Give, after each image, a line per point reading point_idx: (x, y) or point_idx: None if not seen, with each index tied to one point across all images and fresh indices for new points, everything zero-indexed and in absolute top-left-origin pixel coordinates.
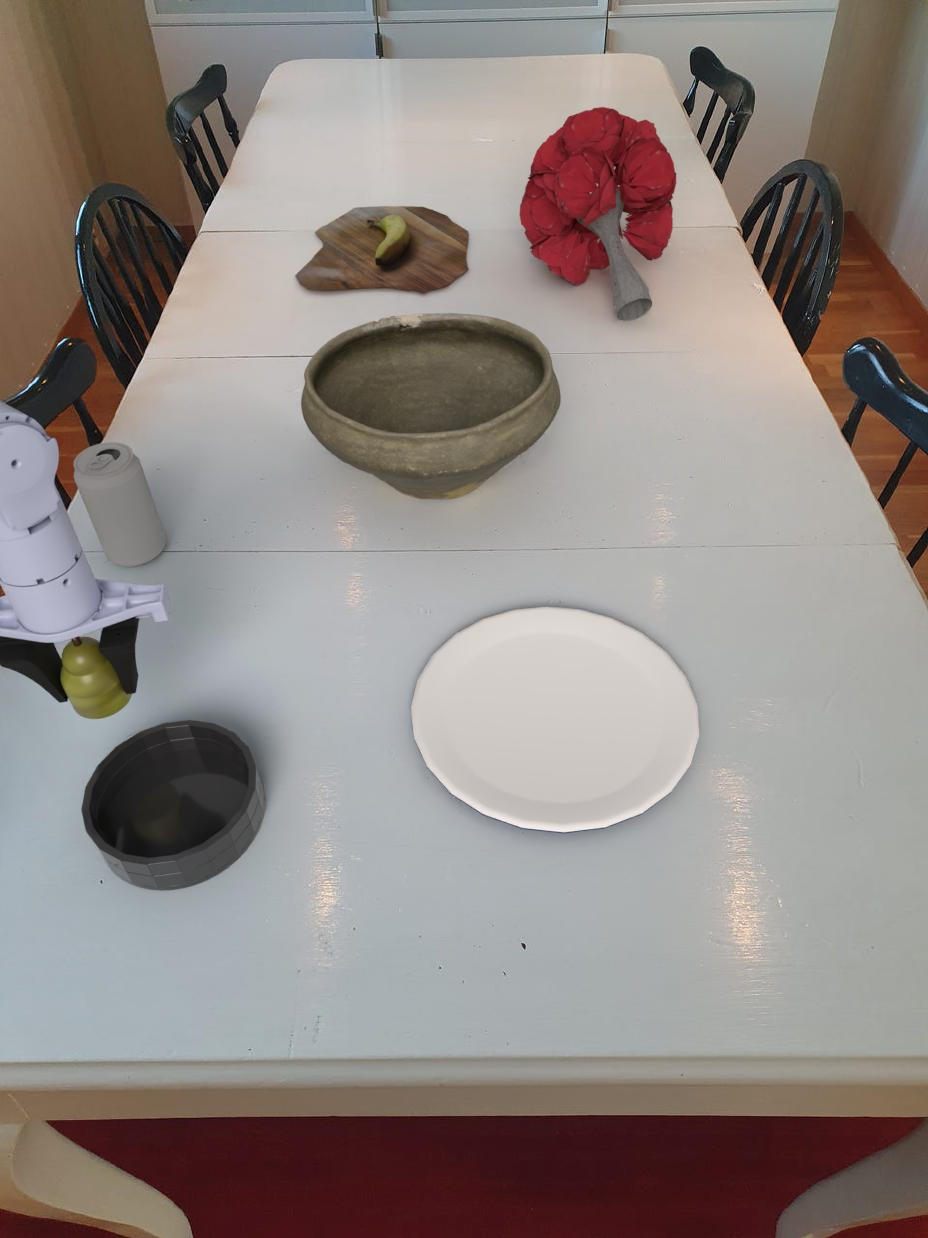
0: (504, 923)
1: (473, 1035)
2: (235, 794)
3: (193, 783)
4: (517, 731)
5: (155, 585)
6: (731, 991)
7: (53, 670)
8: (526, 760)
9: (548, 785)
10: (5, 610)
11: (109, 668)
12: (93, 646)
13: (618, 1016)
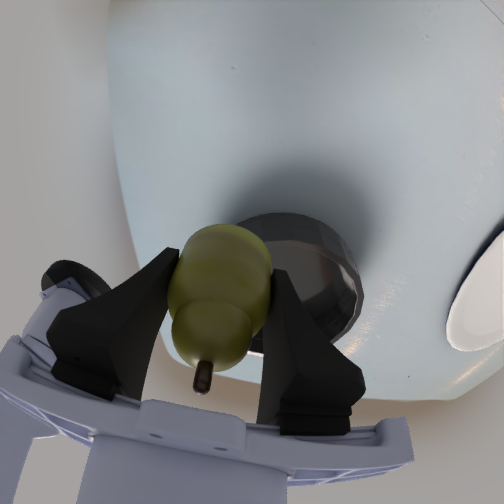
0: (410, 370)
1: (368, 394)
2: (329, 283)
3: (298, 262)
4: (497, 292)
5: (400, 464)
6: (442, 389)
7: (157, 312)
8: (484, 310)
9: (478, 325)
10: (71, 432)
11: (252, 337)
12: (234, 364)
13: (412, 393)
